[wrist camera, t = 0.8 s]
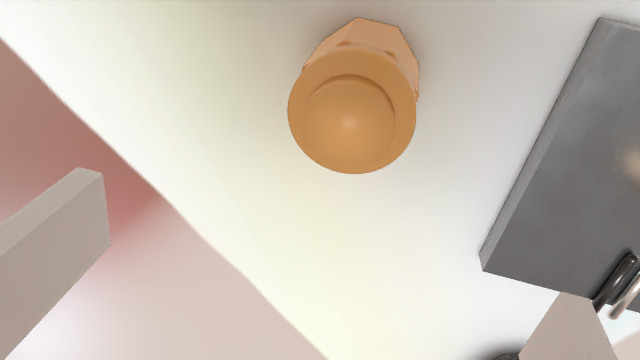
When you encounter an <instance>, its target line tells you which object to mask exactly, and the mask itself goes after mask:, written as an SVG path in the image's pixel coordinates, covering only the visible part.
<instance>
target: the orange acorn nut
mask: <svg viewBox="0 0 640 360" xmlns="http://www.w3.org/2000/svg"><path fill="white" fill-rule="evenodd" d="M418 96H419V70H418V61H417V59H416V58H415V56H414V54H413V52H412V51H411V49H410V47H409V45H408V44H407V42H406V40H405V38H404V37H403V35H402V33H401V31H400V29H399V28H398V27H397V26H392V25H388V24H384V23H379V22H375V21H371V20H367V19H362V18H358V17H357V18H355V19H354V20H352V21H351V22H349V23H348V24H347V25H345V26H344V27H342V28H341V29H339V30H338V31H336V32H335V33H333V34H332V35H330V36H329V37H327V38H326V39H324V40H323V41H322V42H321V44H320V45H319V46H318V47H317V49H316V50H315V51H314V53H313V54H312V55H311V57H310V58H309V59H308V61H307V62H306V63H305V64H304V66H303V69H302V74H301V75H300V76H299V78H298V79H297V81H296V82H295V84H294V86H293V88H292V91H291V93H290V96H289V101H288V110H287V111H288V121H289V126H290V129H291V132H292V134H293V137H294V139H295V141H296V142H297V144H298V145H299V147H300V148H301V149H302V150H303V152H304V153H305V154H306V155H307V156H309V157H310V158H311V159H312V160H313V161H315V162H316V163H318V164H320V165H321V166H323V167H325V168H328V169H330V170H333V171H336V172H340V173H346V174H362V173H369V172H372V171H376V170H378V169H381V168H383V167H385V166H387V165H388V164H390V163H391V162H393V161H394V160H395V159H397V158H398V157H399V156H400V155H401V154H402V152H403V151H404V150H405V149H406V147H407V146H408V144H409V142H410V140H411V138H412V135H413V133H414V129H415V123H416V102H417V99H418Z"/></svg>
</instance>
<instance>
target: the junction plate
mask: <svg viewBox="0 0 640 360" xmlns="http://www.w3.org/2000/svg"><path fill="white" fill-rule="evenodd" d="M479 256H480V261H481V266H482V271H484V272H488V273H492V274H495V275H499V276H503V277H507V278H510V279H514V280H518V281H522V282H526V283H529V284H533V285H537V286H541V287H544V288H548V289H552V290H556V291H560V292H565V293H569V294H573V295H577V296H580V297H584V298H588V299H590V300H593V301H592V302H591V303H592V305H593V307H594V309H595V311H596V313H598V312H599V311H600V310H601V308H602V307H603V306H604V305H605V304H609V305H612V306H611V308H610V309H609V310H608V312H607V316H608V318H610V319H612V320H615V319H617V318H618V317H619V316H620V314H621V313H622V312H623V311H624V310H625V309H628V310H631V311H635V312H639V313H640V27H639V26H635V25H630V24H626V23H621V22H617V21H612V20H608V19H604V18H599V19H598V21H597V23H596V25H595V27H594V29H593V31H592V33H591V35H590V37H589V39H588V41H587V43H586V45H585V47H584V49H583V50H582V52H581V54H580V56H579V58H578V60H577V62H576V64H575V66H574V68H573V70H572V72H571V74H570V76H569V78H568V80H567V82H566V84H565V86H564V88H563V90H562V92H561V94H560V96H559V98H558V100H557V102H556V104H555V106H554V107H553V109H552V111H551V113H550V115H549V117H548V119H547V121H546V123H545V125H544V127H543V129H542V131H541V133H540V135H539V137H538V139H537V141H536V143H535V145H534V147H533V149H532V151H531V153H530V155H529V157H528V159H527V161H526V162H525V164H524V166H523V168H522V170H521V172H520V174H519V176H518V178H517V180H516V182H515V184H514V186H513V188H512V190H511V192H510V194H509V196H508V198H507V200H506V202H505V204H504V206H503V208H502V210H501V212H500V214H499V216H498V217H497V219H496V221H495V223H494V225H493V227H492V229H491V231H490V233H489V235H488V237H487V239H486V241H485V243H484V245H483V247H482V249H481V251H480V253H479Z"/></svg>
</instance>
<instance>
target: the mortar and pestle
mask: <svg viewBox="0 0 640 360" xmlns="http://www.w3.org/2000/svg"><path fill="white" fill-rule="evenodd" d="M518 354H519V353H518ZM518 354H503V355H501V356H500V357H498V358H496V359H494V360H519V356H518Z"/></svg>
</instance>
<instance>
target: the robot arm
mask: <svg viewBox="0 0 640 360" xmlns="http://www.w3.org/2000/svg"><path fill="white" fill-rule="evenodd" d="M110 246H111V240H110V232H109V223H108V214H107V206H106V198H105V189H104V180H103V174H102V173H99V172H95V171H92V170H87V169H83V168H80V167H77V168H76V169H74V170H73V171H72V172H70V173H69V174H68V175H66V176H65V177H64V178H62V179H61V180H60V181H58V182H57V183H55V184H54V185H53V186H51V187H50V188H49V189H47V190H46V191H45V192H43V193H42V194H40V195H39V196H38V197H37V198H35V199H34V200H32V201H31V202H30V203H28V204H27V205H25V206H24V207H23V208H21V209H20V210H19V211H17V212H16V213H15V214H13V215H12V216H11V217H9V218H8V219H6V220H5V221H4V222H3V223H1V224H0V360H4V359H5V358H6V357H7V356H8V355H9V354H10V353H11V352H12V351H13V349H14V348H15V347H16V346H17V345H18V344H19V343H20V342H21V341H22V340H23V339H24V338H25V337H26V335H27V334H28V333H29V332H30V331H31V330H32V329H33V328H34V327H35V326H36V325H37V324H38V323H39V322H40V321H41V319H42V318H43V317H44V316H45V315H46V314H47V313H48V312H49V311H50V310H51V309H52V308H53V307H54V306H55V304H56V303H57V302H58V301H59V300H60V299H61V298H62V297H63V296H64V295H65V294H66V293H67V291H69V289H70V288H71V287H72V286H73V285H74V284H75V283H76V282H77V281H78V280H79V279H80V278H81V277H82V276H83V274H84V273H85V272H86V271H87V270H88V269H89V268H90V267H91V266H92V265H93V264H94V263H95V262H96V261H97V260H98V258H99V257H100V256H101V255H102V254H103V253H104V252H105V251H106V250H107V249H108V248H109V247H110ZM518 356H519V360H618V359H617V357H616V355H615V353H614V350H613V348H612V346H611V344H610V342H609V340H608V337H607V335H606V333H605V331H604V329H603V327H602V324H601V322H600V320H599V318H598V316H597V313H596V311H595V309H594V307H593V305H592V303H591V300H590V299H588V298H584V297H580V296H577V295H573V294H569V293H565V292H560V294H559V295H558V297H557V298H556V299H555V301H554V302H553V304H552V305H551V307H550V308H549V310H548V311H547V313H546V314H545V316H544V317H543V319H542V320H541V322H540V323H539V325H538V326H537V328H536V329H535V331H534V332H533V333H532V335H531V336H530V338H529V339H528V341H527V342H526V344H525V345H524V347H523V348H522V350H521V351H520V353H519V354H518Z"/></svg>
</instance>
